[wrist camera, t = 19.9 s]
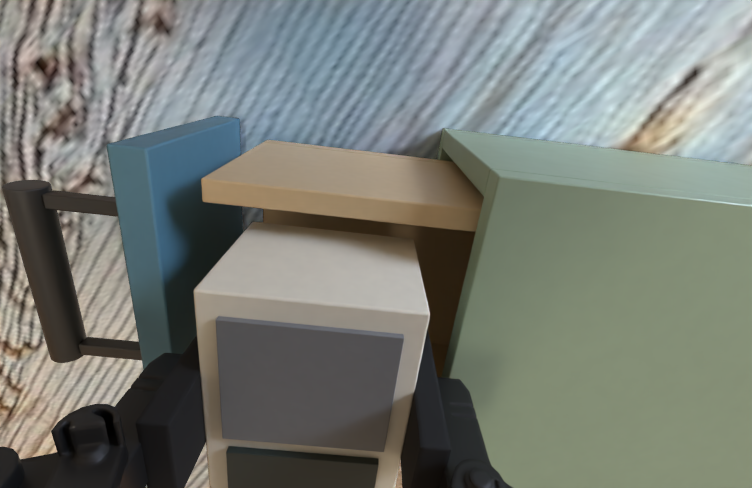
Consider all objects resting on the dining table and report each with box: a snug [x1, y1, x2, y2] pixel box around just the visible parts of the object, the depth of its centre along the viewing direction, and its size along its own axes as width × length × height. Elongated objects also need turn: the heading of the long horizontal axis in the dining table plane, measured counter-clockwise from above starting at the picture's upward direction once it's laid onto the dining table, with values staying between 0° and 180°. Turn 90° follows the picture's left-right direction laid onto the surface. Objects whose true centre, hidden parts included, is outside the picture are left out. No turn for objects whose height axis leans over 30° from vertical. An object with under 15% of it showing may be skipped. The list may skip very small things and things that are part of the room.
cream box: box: [194, 222, 430, 488], centre depth 13 cm, size 8×6×5 cm
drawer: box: [2, 116, 484, 377], centre depth 18 cm, size 21×13×8 cm, turn 83°
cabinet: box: [437, 128, 752, 488], centre depth 19 cm, size 17×14×10 cm
